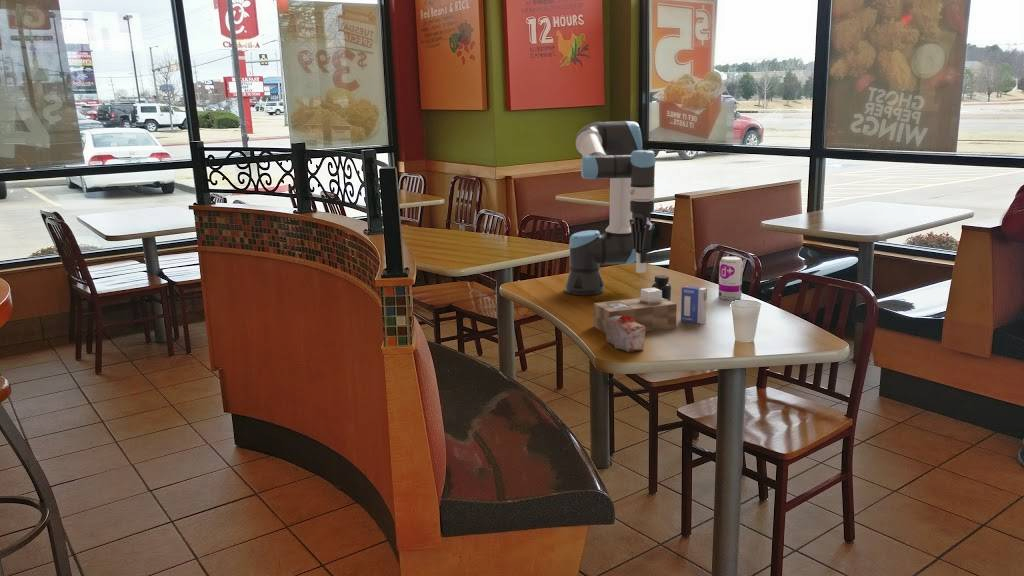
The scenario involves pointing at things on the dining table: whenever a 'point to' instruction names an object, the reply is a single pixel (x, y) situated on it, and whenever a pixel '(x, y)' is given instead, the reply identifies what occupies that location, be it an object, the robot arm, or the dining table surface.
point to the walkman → (693, 304)
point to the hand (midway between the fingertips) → (641, 272)
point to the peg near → (618, 305)
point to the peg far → (651, 296)
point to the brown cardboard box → (638, 313)
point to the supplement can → (730, 278)
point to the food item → (625, 333)
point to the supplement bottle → (663, 286)
